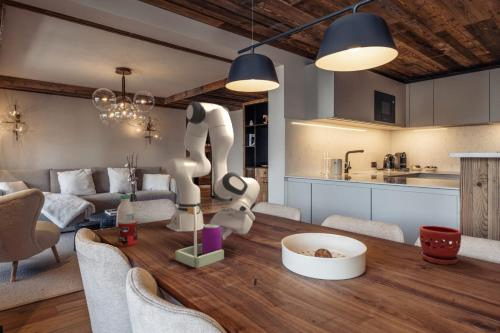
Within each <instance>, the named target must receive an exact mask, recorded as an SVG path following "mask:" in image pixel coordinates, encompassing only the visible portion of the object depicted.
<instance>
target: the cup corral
mask: <svg viewBox="0 0 500 333" xmlns="http://www.w3.org/2000/svg"><path fill="white" fill-rule="evenodd" d="M188 214H193V215H194V231H193V245H191V246H188V247H184V248H180V249H176V250H174V260H175V261H177V262H180V263H182V264H184V265H187V266H190V267H192V268H194V269H199V268H202V267H205V266H208V265H211V264H214V263H217V262H220V261H222V260H224V259H225V250H224V249H221V250H218V251H215V252H212V253H208V254H205V255H203V254H202V243H198V235H197V234H198V233H197V231H198V230H197V222H196V207H188ZM199 254H202V255H199ZM198 255H199V256H198Z"/></svg>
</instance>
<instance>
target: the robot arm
mask: <svg viewBox="0 0 500 333" xmlns="http://www.w3.org/2000/svg"><path fill="white" fill-rule="evenodd" d="M185 114H186V119H187V121H188V123H187V125H186V130H185V134H184V140H183V146H184V148H185V150H187V151H188V152H189V156H188V157H185V156H182V157H181V156H180V157H174V158H171V159H169V160H168V162H167V164H166V171H167V172H166V173H167V174H168V175H169V177H170V178H171V179H173V180H174V181H175V183H176V185H177V188H178V191H179V192H178V193H179V203H178V204H176V207H177V210H176V211H175V212H174V213H173V214H172V215H171V217H170V223H168V224H166V226H165V227H166V228H168V229H170V230H172V231H174V232H177V233H179V232H194V215H193V214H188V207H196V222H197V231H200V230H203V227H204V225H206V224H205V223H204V217H203V211H202V202H201V189H200V186H198V185H197V184H195V183H194V182H193V178H198V177H199V178H201V177H204V176H207V175H209V174H210V172H211V169H212V166H213V176H214V181H213V185H212V194H213V197H214V198H215V199H216V200H217V201H219V202H223V203H224V202H225V203H226V202H229V201H230V202H229V204H228V206H227V207H226V208H222V209H220V210H217V212H216V213H215V214H214V216H212V218H211V219H210V221H209V224H218V225H219V226H220V229H221V240H223V241H225V240H226V238H227V237H228V236H229V235H231V234H232V232H233V233H237V234H241V235H246V234H247V233H248V232H249V231H250V229H251V228H252V226H253V222H254V221H255V219H256V216H255V215H254V213H253V212H252V210H251V207H252V205H254V204H255V202H256V200H257V198H258V196H259V194H260V190H261V187H260V184H259V183H258V181H257V180H256V179H255V178H252V177H244V176H241V175H239V174H238V173H236V172H228V166H227V162H228V161H227V160H228V155H229V153H230V151H231V149H232V148H233V145H234V136H235V135H234V128H233V124H232V120H231V116H230V115H231V113H230V110H229V108H228V107H227V106H224V105H219V104H215V103H210V102H209V103H208V102H200V101H194V102H193V101H192V102H190V103H189V105H188V106H187V108H186V111H185ZM208 133H209V140H210V146H211V154H212V165H211V162H210V161H209V159H208V158H207V157H206V152H205V147H206V141H207V137H208ZM231 199H232V200H231Z"/></svg>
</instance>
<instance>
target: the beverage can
mask: <svg viewBox="0 0 500 333" xmlns="http://www.w3.org/2000/svg"><path fill="white" fill-rule="evenodd" d="M201 230H202V231H201V244H202V253H201V254H202V255H205V254H208V253H212V252H215V251H218V250H221V249H222V246H223V245H222V239H221V229H220V226H219V225H218V224H210V223H207V224H205V225H204V227H203V229H201ZM222 250H223V249H222Z"/></svg>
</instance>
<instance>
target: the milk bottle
mask: <svg viewBox="0 0 500 333" xmlns="http://www.w3.org/2000/svg"><path fill="white" fill-rule="evenodd" d="M124 219H135V212H134V208H133V205H132V204H131V195H130V194H121V195H120V204H119V207H118V209H117V222H118V221H120V220H124Z"/></svg>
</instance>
